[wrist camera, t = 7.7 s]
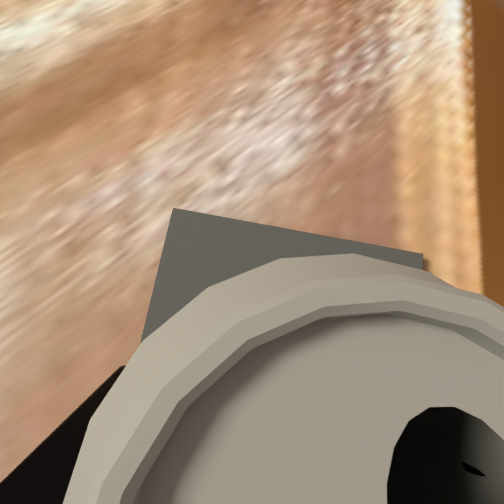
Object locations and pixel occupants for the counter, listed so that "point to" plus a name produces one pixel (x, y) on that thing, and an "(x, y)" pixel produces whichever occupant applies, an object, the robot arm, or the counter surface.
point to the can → (308, 394)
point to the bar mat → (236, 256)
